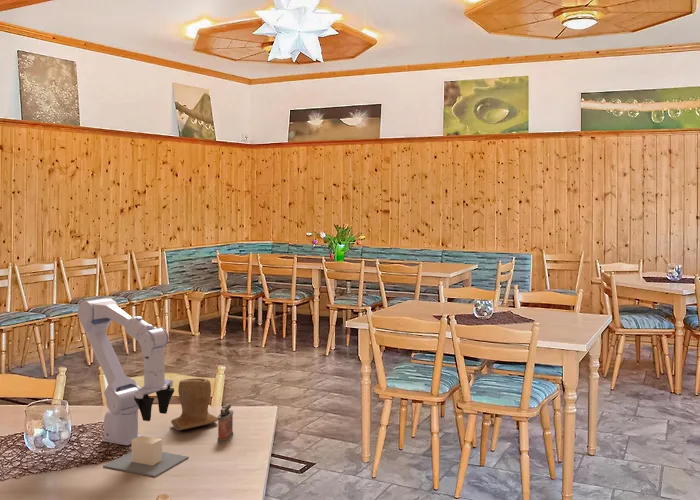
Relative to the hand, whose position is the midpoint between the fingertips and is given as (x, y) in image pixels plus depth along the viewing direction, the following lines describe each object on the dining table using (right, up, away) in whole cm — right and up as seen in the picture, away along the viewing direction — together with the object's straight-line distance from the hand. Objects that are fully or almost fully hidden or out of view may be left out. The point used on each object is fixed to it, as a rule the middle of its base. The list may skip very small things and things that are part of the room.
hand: (154, 416), depth 207 cm
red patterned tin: (+19, -9, +11) cm, 23 cm away
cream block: (+1, -10, -10) cm, 14 cm away
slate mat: (+1, -10, -10) cm, 14 cm away
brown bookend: (+6, -8, +22) cm, 24 cm away
